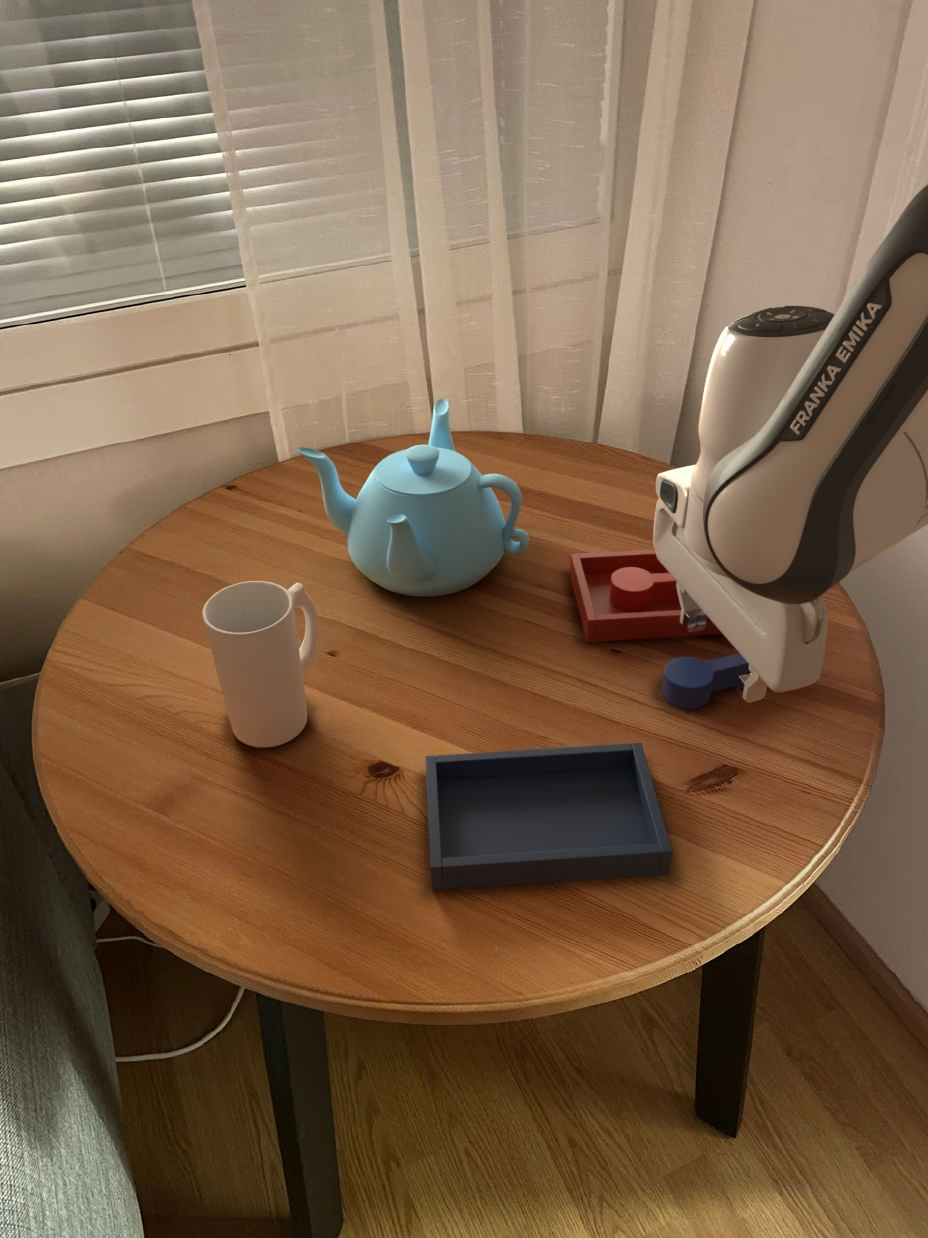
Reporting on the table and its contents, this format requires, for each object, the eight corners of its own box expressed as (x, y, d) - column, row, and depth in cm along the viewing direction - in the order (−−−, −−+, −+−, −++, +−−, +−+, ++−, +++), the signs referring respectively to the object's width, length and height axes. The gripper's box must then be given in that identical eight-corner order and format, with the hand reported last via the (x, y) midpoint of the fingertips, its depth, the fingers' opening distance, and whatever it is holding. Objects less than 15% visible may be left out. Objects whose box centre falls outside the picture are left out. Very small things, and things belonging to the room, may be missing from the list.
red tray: (735, 565, 100) (739, 544, 98) (768, 631, 91) (772, 609, 90) (569, 574, 99) (570, 553, 97) (586, 642, 91) (588, 620, 89)
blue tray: (638, 765, 78) (641, 742, 77) (669, 875, 70) (673, 851, 69) (426, 778, 78) (425, 755, 76) (432, 891, 69) (430, 868, 68)
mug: (268, 763, 80) (244, 646, 72) (211, 728, 83) (183, 613, 75) (354, 694, 86) (340, 579, 78) (297, 664, 89) (279, 552, 82)
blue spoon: (782, 651, 89) (787, 629, 87) (808, 679, 86) (814, 657, 84) (653, 684, 86) (656, 662, 84) (676, 714, 83) (679, 692, 81)
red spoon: (737, 581, 97) (740, 560, 95) (748, 606, 93) (752, 585, 92) (606, 588, 96) (607, 567, 95) (613, 613, 93) (615, 592, 92)
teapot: (303, 554, 103) (288, 447, 95) (447, 493, 112) (443, 391, 104) (401, 634, 92) (392, 520, 85) (551, 559, 101) (555, 450, 94)
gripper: (866, 588, 69) (825, 733, 77) (714, 452, 84) (694, 585, 92) (786, 607, 67) (753, 753, 76) (646, 465, 82) (632, 599, 91)
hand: (719, 660), depth 84 cm, fingers open, 8 cm apart
